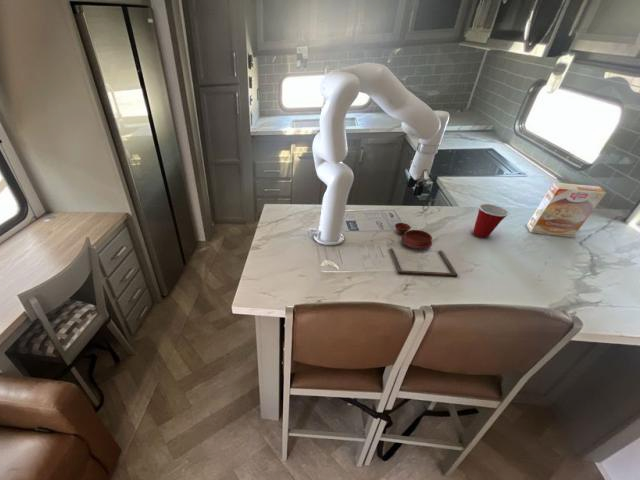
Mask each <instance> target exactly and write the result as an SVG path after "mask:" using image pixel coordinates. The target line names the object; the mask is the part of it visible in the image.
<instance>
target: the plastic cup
mask: <svg viewBox="0 0 640 480" xmlns="http://www.w3.org/2000/svg"><path fill="white" fill-rule="evenodd" d="M509 215H510V212H509V210H507V209H506V208H504V207H502V206H499V205H495V204H491V203H481V204H480V205H478V212H477V216H476V219H475V223H474V226H473V230H472V235H474V237H477V238H479V239H481V238H482V239H487V238H488V237H489V236H490V235H491V234H492V233H493V231H494V230H495V229H496V228H497V227H498V226H499V224H500V223H501V222H502V221H503V220H504V219H505V218H506V217H508V216H509Z"/></svg>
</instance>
